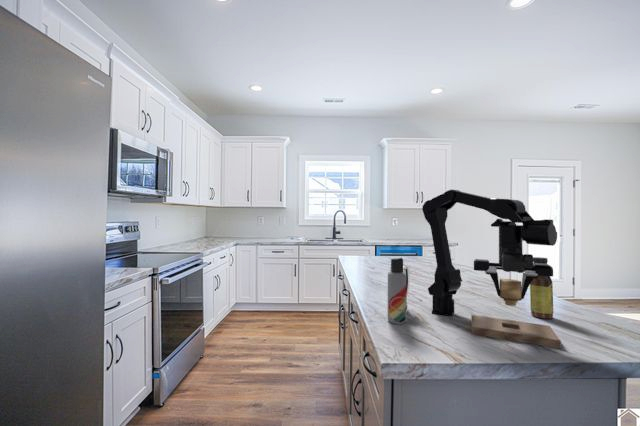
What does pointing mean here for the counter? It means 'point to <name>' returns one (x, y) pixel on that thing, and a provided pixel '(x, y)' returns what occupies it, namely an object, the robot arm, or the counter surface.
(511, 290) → the oak peg
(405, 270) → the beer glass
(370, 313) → the counter surface
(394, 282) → the lotion bottle
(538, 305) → the sauce bottle
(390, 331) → the counter surface
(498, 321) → the walnut board
